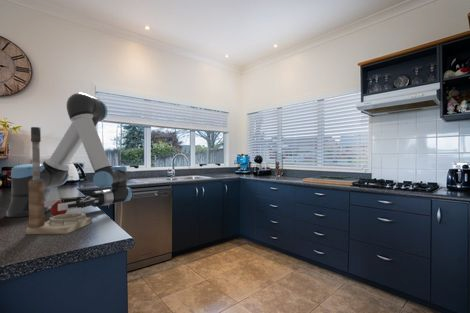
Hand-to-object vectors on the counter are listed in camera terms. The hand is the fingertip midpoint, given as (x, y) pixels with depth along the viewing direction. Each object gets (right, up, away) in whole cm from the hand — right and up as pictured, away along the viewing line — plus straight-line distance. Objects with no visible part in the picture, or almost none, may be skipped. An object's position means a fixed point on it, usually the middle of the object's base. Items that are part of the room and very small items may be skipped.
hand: (50, 205), depth 102 cm
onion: (+2, -6, +3) cm, 7 cm away
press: (+13, -6, -12) cm, 19 cm away
